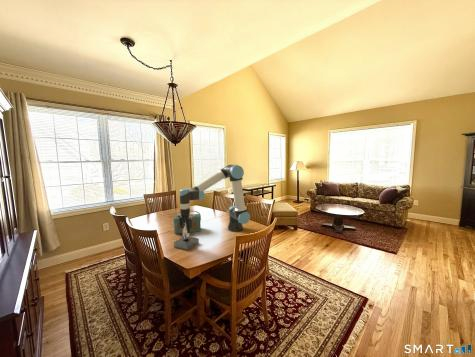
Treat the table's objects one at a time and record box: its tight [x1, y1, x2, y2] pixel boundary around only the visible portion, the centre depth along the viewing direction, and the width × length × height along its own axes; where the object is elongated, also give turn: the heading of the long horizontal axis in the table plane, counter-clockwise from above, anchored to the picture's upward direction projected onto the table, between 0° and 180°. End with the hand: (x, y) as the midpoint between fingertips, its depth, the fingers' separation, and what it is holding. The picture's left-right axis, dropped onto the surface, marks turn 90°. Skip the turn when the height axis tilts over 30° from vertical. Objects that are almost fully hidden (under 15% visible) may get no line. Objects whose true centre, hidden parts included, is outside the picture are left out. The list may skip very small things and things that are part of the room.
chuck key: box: [183, 223, 188, 238], centre depth 162 cm, size 3×6×12 cm, turn 154°
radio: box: [173, 210, 202, 235], centre depth 193 cm, size 26×11×20 cm, turn 102°
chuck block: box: [173, 236, 200, 251], centre depth 163 cm, size 14×14×4 cm
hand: (186, 236), depth 162 cm, fingers closed on chuck key, 3 cm apart
